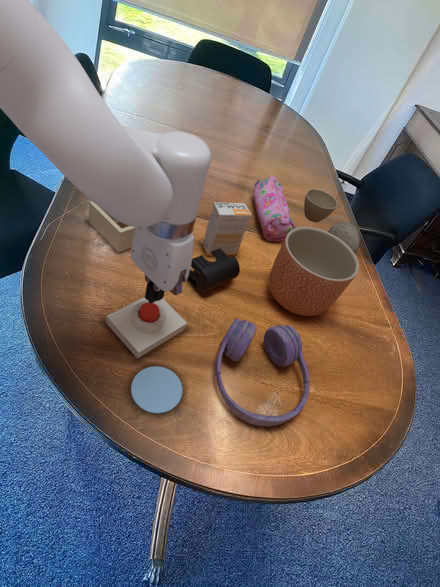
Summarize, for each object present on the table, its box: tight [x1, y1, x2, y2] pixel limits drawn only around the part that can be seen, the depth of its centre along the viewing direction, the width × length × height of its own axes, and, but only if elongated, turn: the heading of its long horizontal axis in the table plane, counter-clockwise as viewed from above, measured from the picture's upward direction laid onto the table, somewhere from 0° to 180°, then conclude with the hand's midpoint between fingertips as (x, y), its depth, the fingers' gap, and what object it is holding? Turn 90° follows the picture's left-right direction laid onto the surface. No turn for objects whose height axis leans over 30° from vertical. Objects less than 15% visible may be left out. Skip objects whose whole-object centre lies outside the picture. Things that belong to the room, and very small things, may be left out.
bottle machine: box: [88, 200, 136, 253], centre depth 88 cm, size 13×12×16 cm
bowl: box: [303, 188, 339, 223], centre depth 118 cm, size 10×10×7 cm
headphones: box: [214, 317, 311, 427], centre depth 73 cm, size 18×8×20 cm
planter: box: [268, 226, 360, 317], centre depth 88 cm, size 17×17×15 cm
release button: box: [139, 302, 160, 322], centre depth 73 cm, size 4×4×2 cm
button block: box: [105, 296, 188, 359], centre depth 75 cm, size 12×10×4 cm
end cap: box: [187, 248, 241, 293], centre depth 87 cm, size 10×7×7 cm
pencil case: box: [252, 175, 296, 242], centre depth 110 cm, size 21×9×9 cm, turn 3°
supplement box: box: [201, 201, 252, 257], centre depth 94 cm, size 8×5×13 cm, turn 108°
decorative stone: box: [327, 221, 360, 255], centre depth 107 cm, size 10×8×10 cm
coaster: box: [130, 365, 183, 415], centre depth 68 cm, size 9×9×1 cm
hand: (154, 297), depth 71 cm, fingers closed
